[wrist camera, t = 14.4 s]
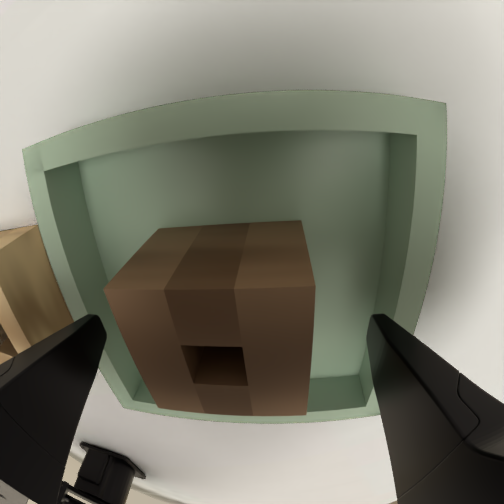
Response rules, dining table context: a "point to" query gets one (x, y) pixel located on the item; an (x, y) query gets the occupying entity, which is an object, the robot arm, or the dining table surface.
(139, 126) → the tray
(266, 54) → the dining table surface
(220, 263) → the walnut block
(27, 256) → the oak block
